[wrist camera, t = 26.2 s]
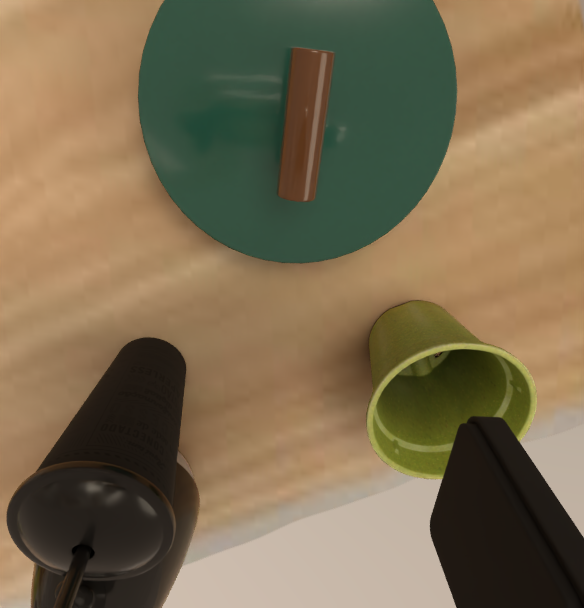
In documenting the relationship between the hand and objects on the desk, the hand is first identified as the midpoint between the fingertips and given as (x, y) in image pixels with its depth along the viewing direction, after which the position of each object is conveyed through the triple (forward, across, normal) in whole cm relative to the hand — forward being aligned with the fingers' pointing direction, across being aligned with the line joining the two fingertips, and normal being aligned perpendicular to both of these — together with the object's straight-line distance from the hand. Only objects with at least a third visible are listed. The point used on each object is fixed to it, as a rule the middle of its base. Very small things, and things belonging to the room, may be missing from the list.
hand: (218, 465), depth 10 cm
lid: (+20, -3, -4) cm, 20 cm away
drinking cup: (+24, +6, +14) cm, 28 cm away
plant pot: (+23, -12, +10) cm, 28 cm away
